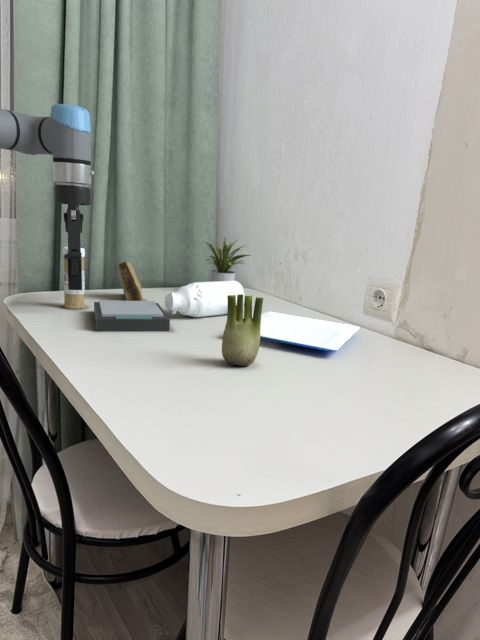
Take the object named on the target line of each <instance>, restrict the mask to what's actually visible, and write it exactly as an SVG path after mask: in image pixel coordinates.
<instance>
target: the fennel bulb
mask: <svg viewBox="0 0 480 640" xmlns="http://www.w3.org/2000/svg"><path fill="white" fill-rule="evenodd" d="M243 296H244V295H243V294H238V295H237V305H236V295H228V296H227V300H228V309H227V310H228V311H227V314H226V323H225V326H224V327H225V328H224V330H223V334H222V340H221V341H222V342H221V354H222V358H223V359H224V361H225V362H226V363H228V364H230V365H234V366H240V367H245V366H246V367H247V366H250V365H252V364H254V362H255V360H256V358H257V356H258V352H259V350H260V344H261V339H260V335H261V334H260V330H261V314H263V313H262V312H263V305H264V297H261V296H256V297H255V300H254V305H253V295H245V299H244V306H243ZM252 318H253V319H252Z"/></svg>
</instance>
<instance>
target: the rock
mask: <svg viewBox="0 0 480 640" xmlns="http://www.w3.org/2000/svg"><path fill="white" fill-rule="evenodd" d="M118 271H119V276H120V281H121V287H122V291H123V294H124V297H125V301H144V299H143V293H142V290H143V289H142V284H141V282H140V280H139V278H138V276H137V273H136V270H135V268H134V266H133V265H132V263H130V261H129V260H125V261H123V262H120V263H118Z"/></svg>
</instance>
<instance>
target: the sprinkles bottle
mask: <svg viewBox="0 0 480 640" xmlns="http://www.w3.org/2000/svg"><path fill="white" fill-rule="evenodd" d="M67 252H68V246H63V247H62V256H63V257H64V254H67ZM81 253H82V255H81V262H82V290H69V289H68V259H64V258H63V295H64V296H63V298H64V299H63V301H64V303H63V306H64V308H66V309H70V310H78V309H83V308H85V306H86V305H85V292H86V291H85V287H86V286H85V283H86V281H85V277H86V276H85V256H86V249H85V248H84V247H83V248H81Z"/></svg>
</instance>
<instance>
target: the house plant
mask: <svg viewBox="0 0 480 640" xmlns="http://www.w3.org/2000/svg"><path fill="white" fill-rule="evenodd" d="M226 239H227V238H226V236H224V238H223V242H222V248H220V246H219V244H218V243H216V241H215V240H211V241H212V242H214V246H215V247H214V246H213V245H212V243H211V242H206V241H204V243H205V244H206V246H207V247H208V248H209V249H210V250H211V252H212V253H213V255H209V256H208V257H209V258H207V259H205V262H208V264H211V262H212V264H213V265H214V266H215V267H216V269H211V282H216V281H232V280H233V281H234V280H235V277H236V271H232V270H231V269H232V267H235V265H238V264H240V265H243V266H245V265H247V263H246V262H244V260H243V259H242V258H244V257H245V258H246V257H250V256H251V254H238V255H235V254H236V253H237V252H238V251H240V250H241V249H242V248H244V247H246V244H245V245H241V246H239V247H238V248H235V249H233V250H232V251H231V249H232V247H233V246H234V244H236V242H237V241H238V239H236V240H235V241H233V242H232V241H230V242H229V243H227V244H226V241H227V240H226ZM230 251H231V252H230ZM234 255H235V256H234ZM238 259H242V260H238ZM209 261H211V262H209Z"/></svg>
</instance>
